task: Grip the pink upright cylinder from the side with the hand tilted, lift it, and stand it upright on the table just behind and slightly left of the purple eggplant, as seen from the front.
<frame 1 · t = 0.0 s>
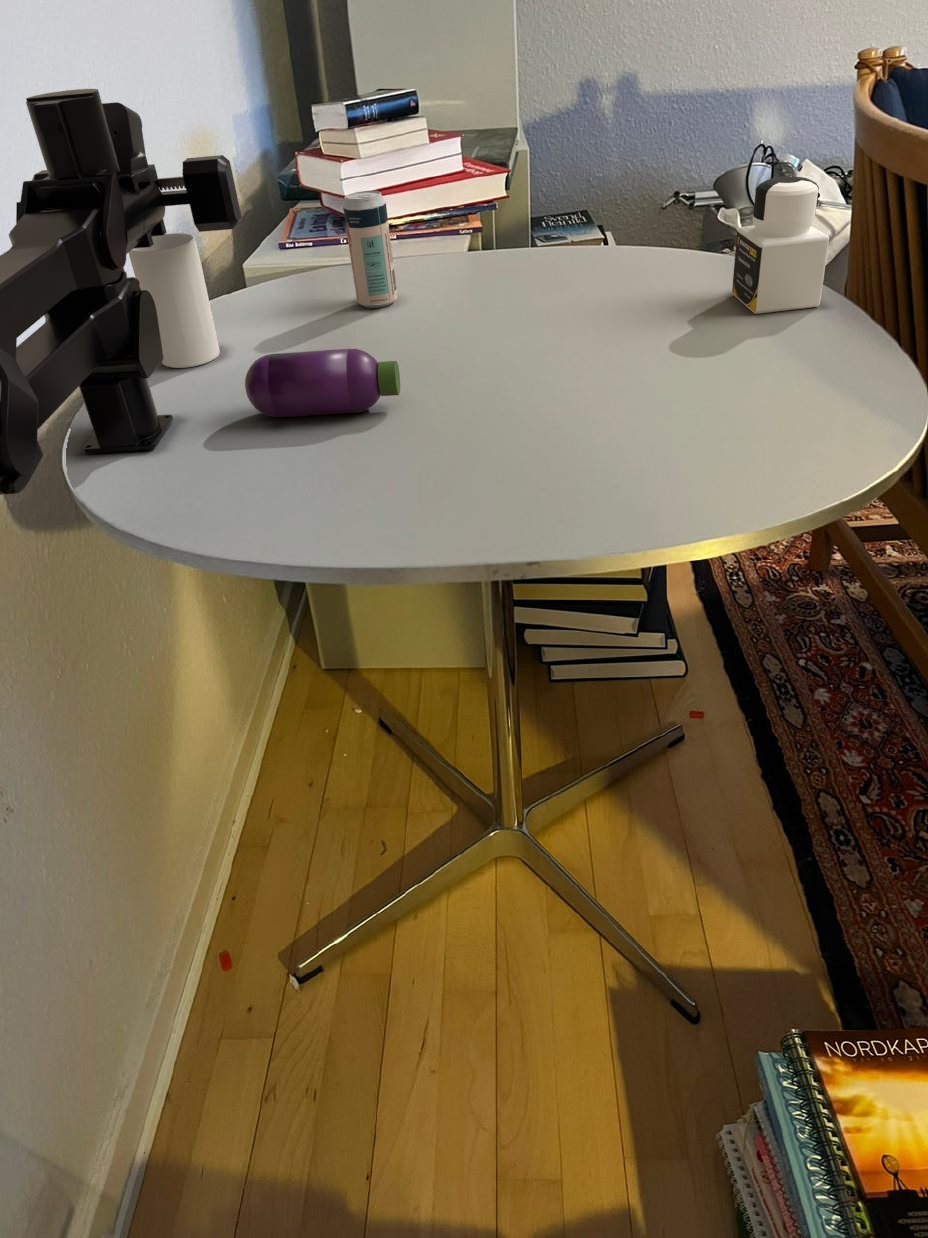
hand: (163, 181, 97), 17 cm above the table, tool horizontal, fingers open, 9 cm apart
medicine bottle: (774, 302, 101), on the table
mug: (193, 354, 103), on the table
eggplant: (319, 412, 87), on the table
pink upright cylinder: (378, 304, 112), on the table
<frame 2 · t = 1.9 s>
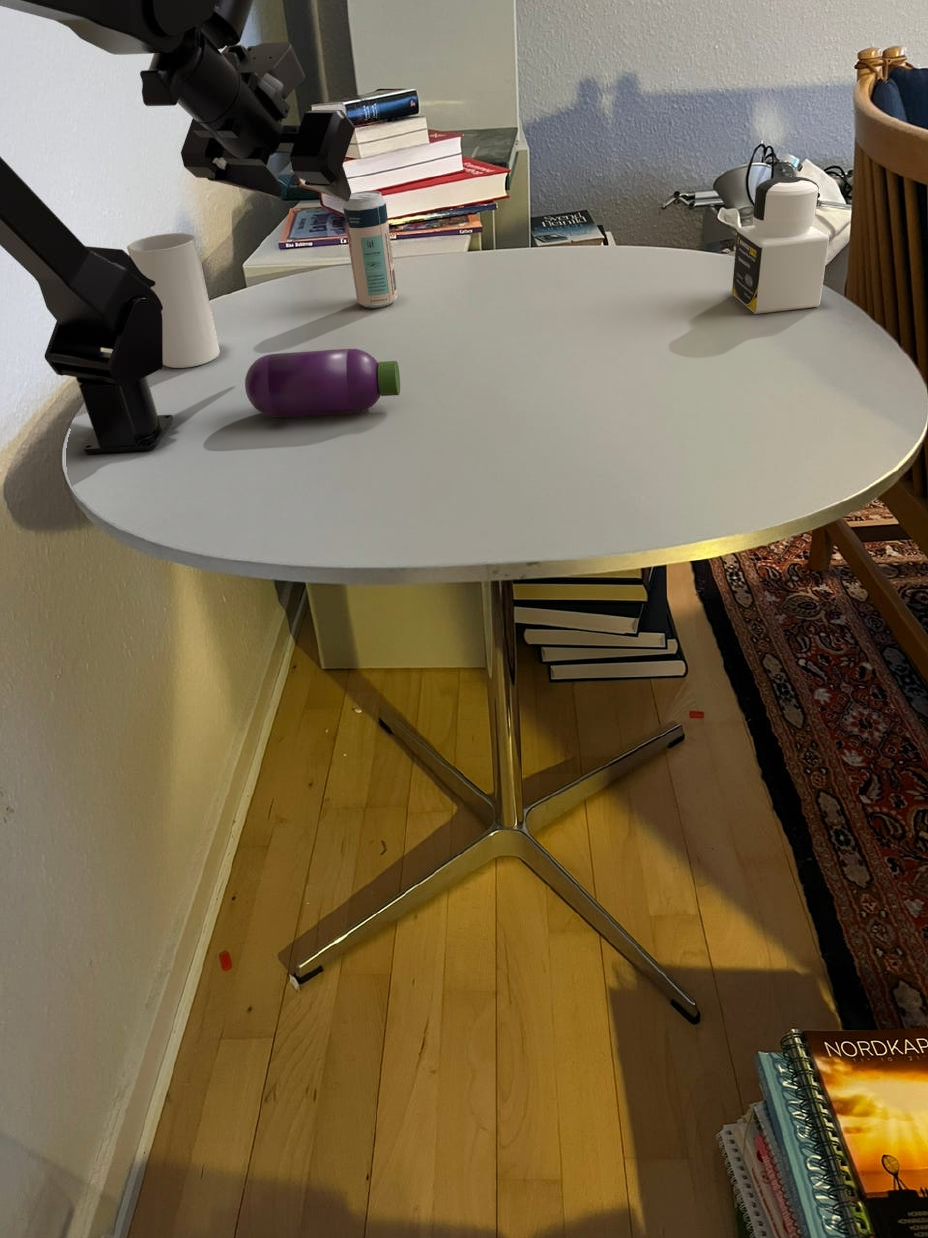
hand: (314, 195, 98), 14 cm above the table, tool tilted 45°, fingers open, 9 cm apart
nothing on the table moved.
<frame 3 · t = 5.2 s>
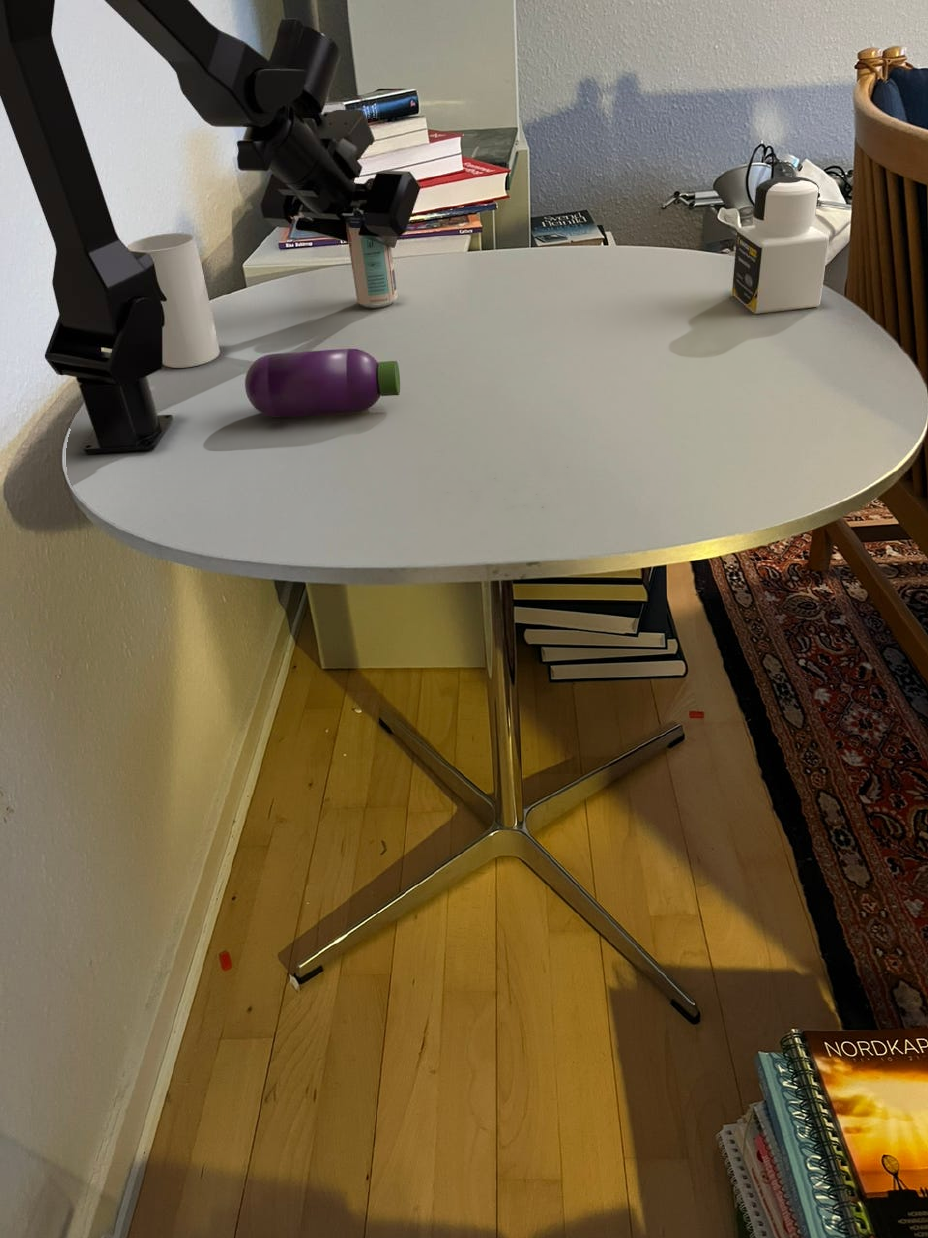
hand: (377, 242, 109), 7 cm above the table, tool tilted 45°, fingers closed on pink upright cylinder, 5 cm apart
pink upright cylinder: (378, 304, 112), on the table, touching gripper
everything else where it was.
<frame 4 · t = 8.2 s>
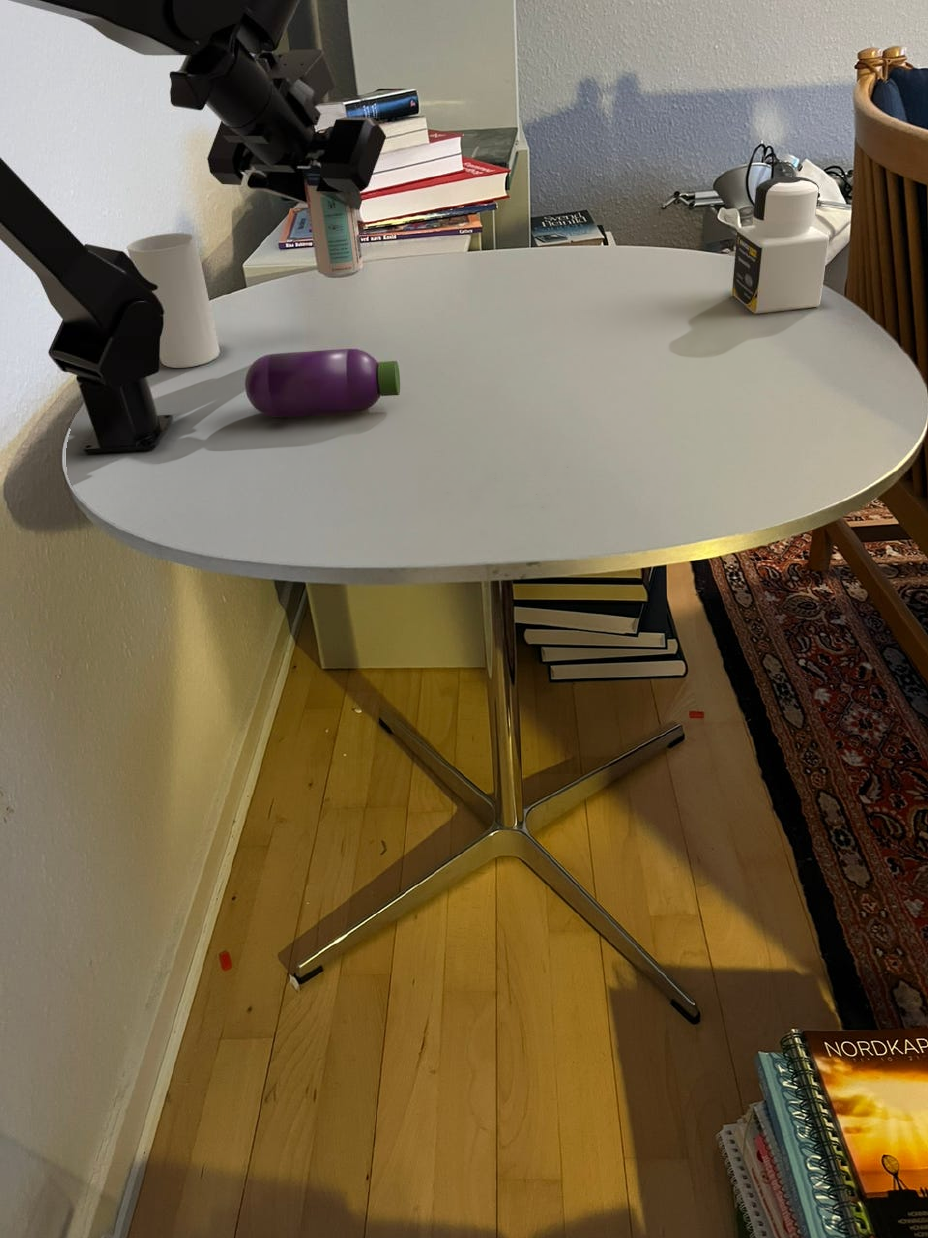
hand: (340, 204, 97), 13 cm above the table, tool tilted 45°, fingers closed on pink upright cylinder, 5 cm apart
pink upright cylinder: (341, 274, 100), point 6 cm above the table, touching gripper
everything else where it was.
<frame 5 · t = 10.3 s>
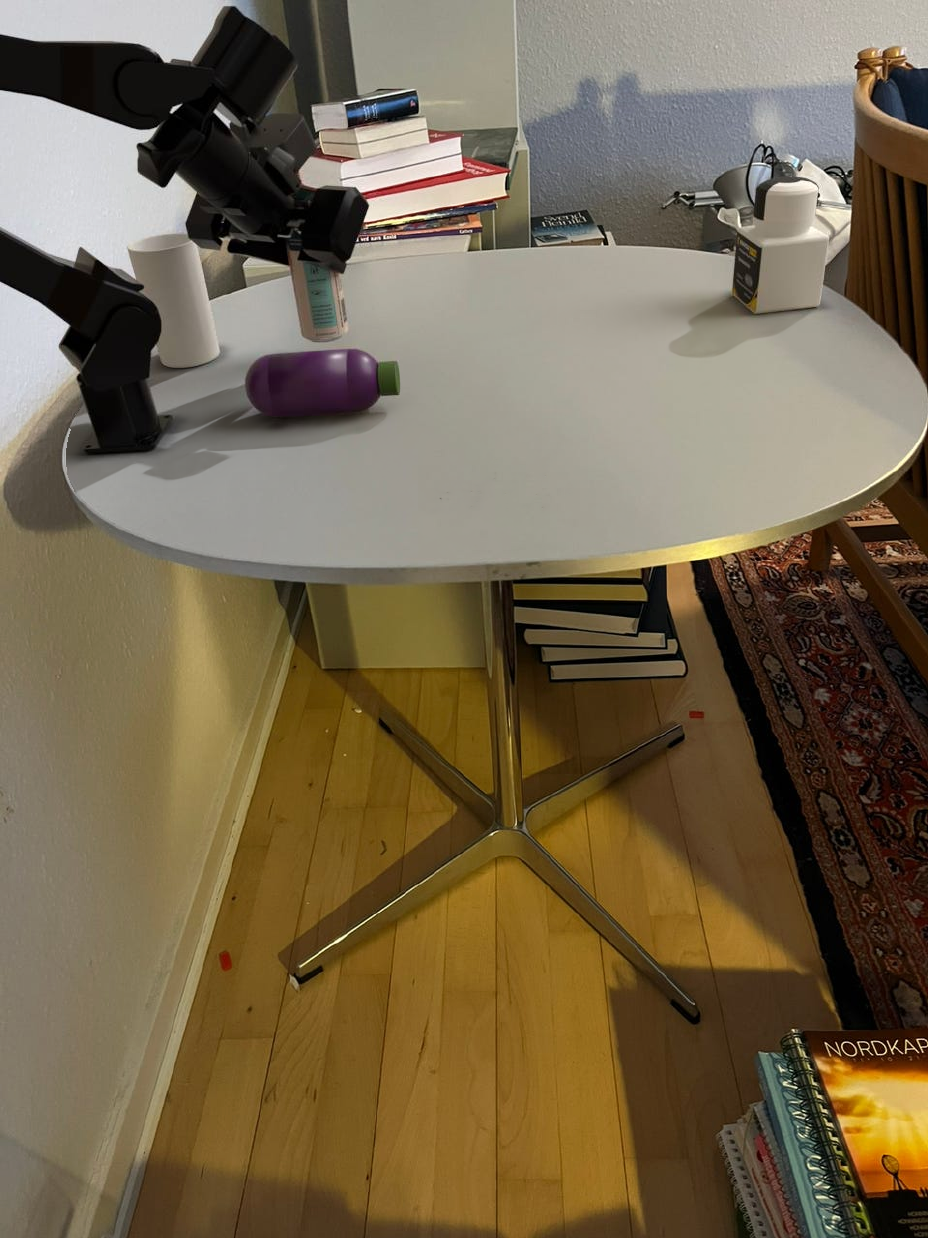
hand: (324, 267, 94), 9 cm above the table, tool tilted 45°, fingers closed on pink upright cylinder, 5 cm apart
pink upright cylinder: (326, 338, 97), point 2 cm above the table, touching gripper
everything else where it was.
when the fingers open (7 cm above the table, at t = 11.4 s): pink upright cylinder stays where it is, on the table.
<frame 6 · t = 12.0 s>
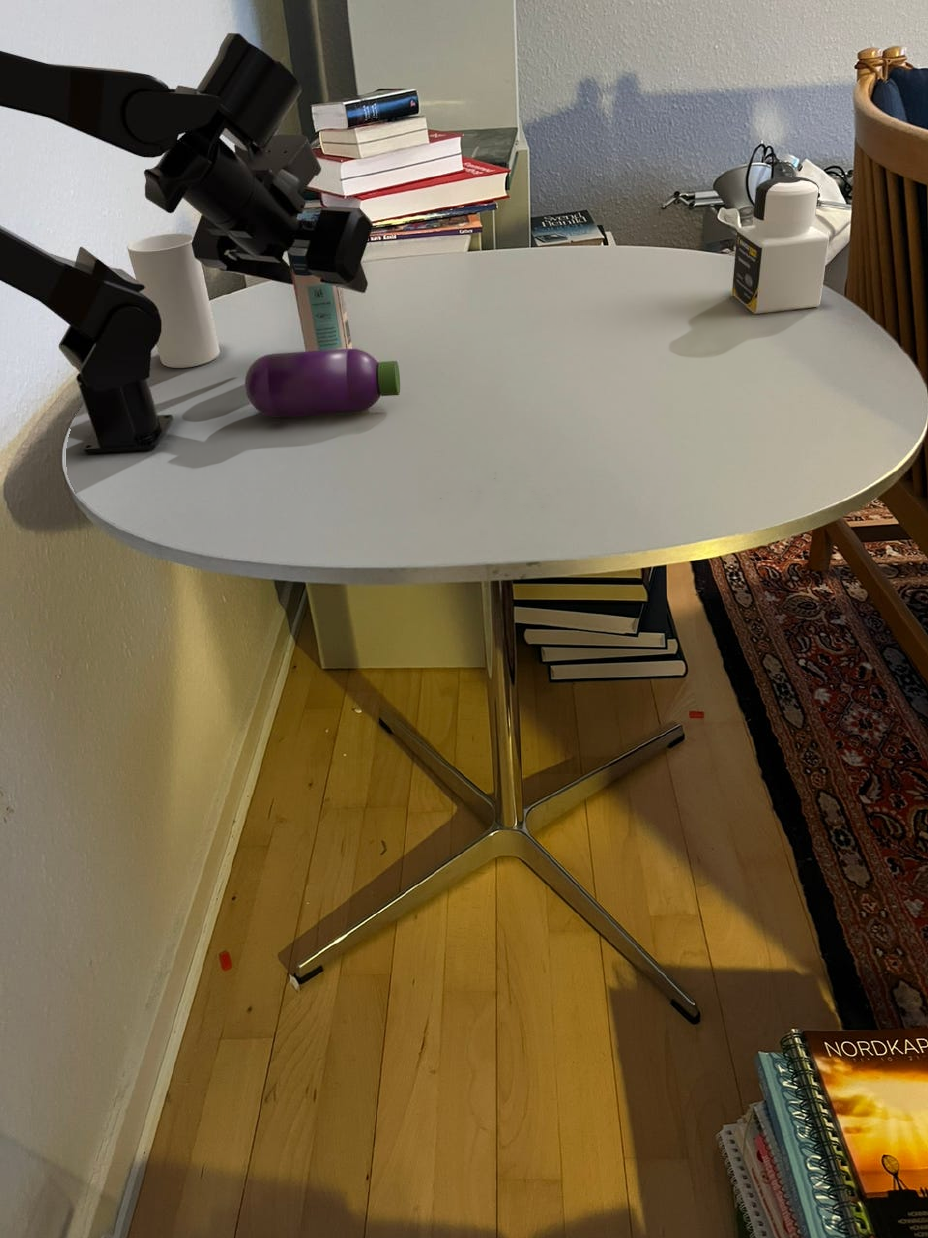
hand: (328, 283, 95), 7 cm above the table, tool tilted 45°, fingers open, 9 cm apart
pink upright cylinder: (330, 359, 98), on the table
everything else where it was.
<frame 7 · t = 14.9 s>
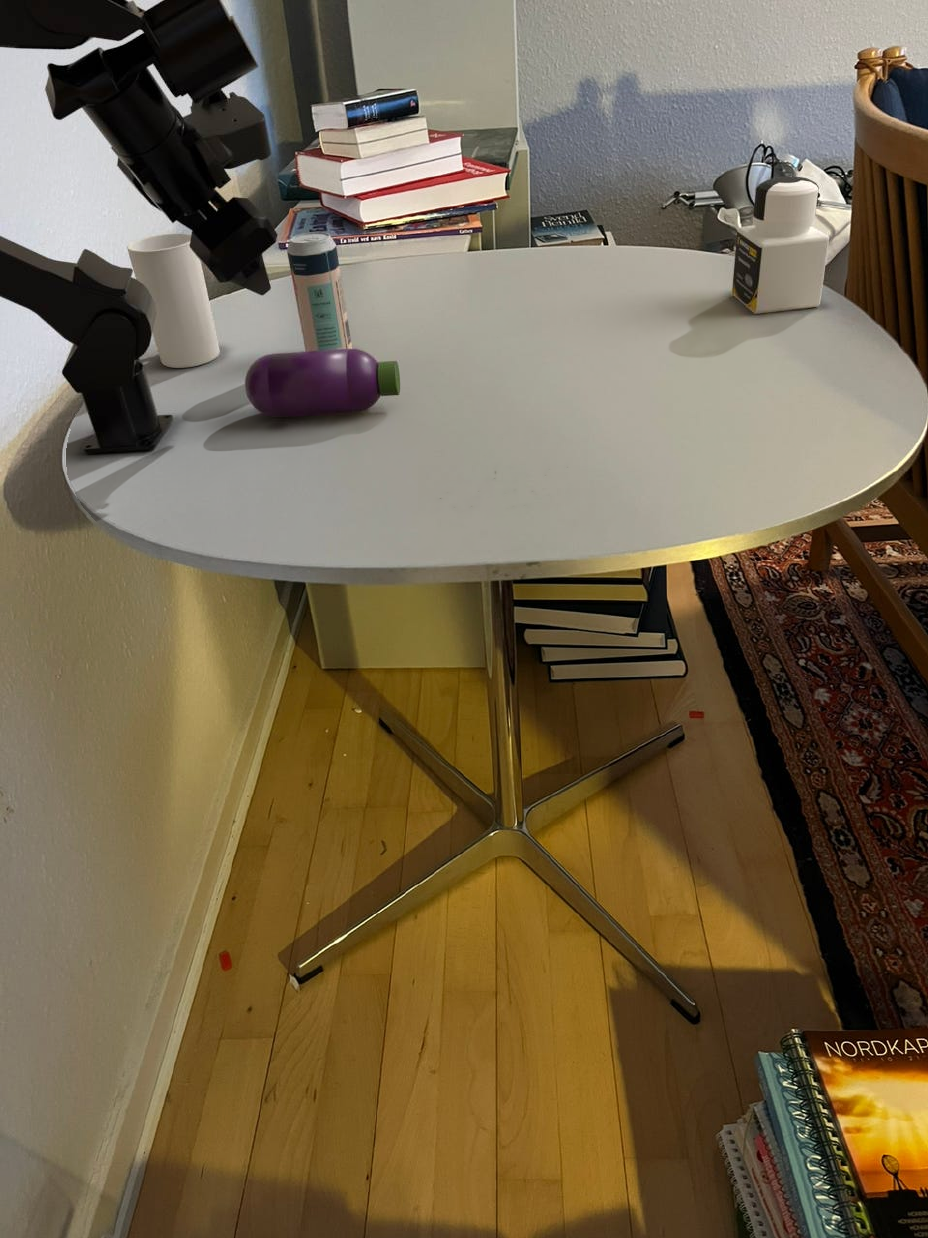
hand: (242, 265, 87), 11 cm above the table, tool tilted 35°, fingers open, 9 cm apart
nothing on the table moved.
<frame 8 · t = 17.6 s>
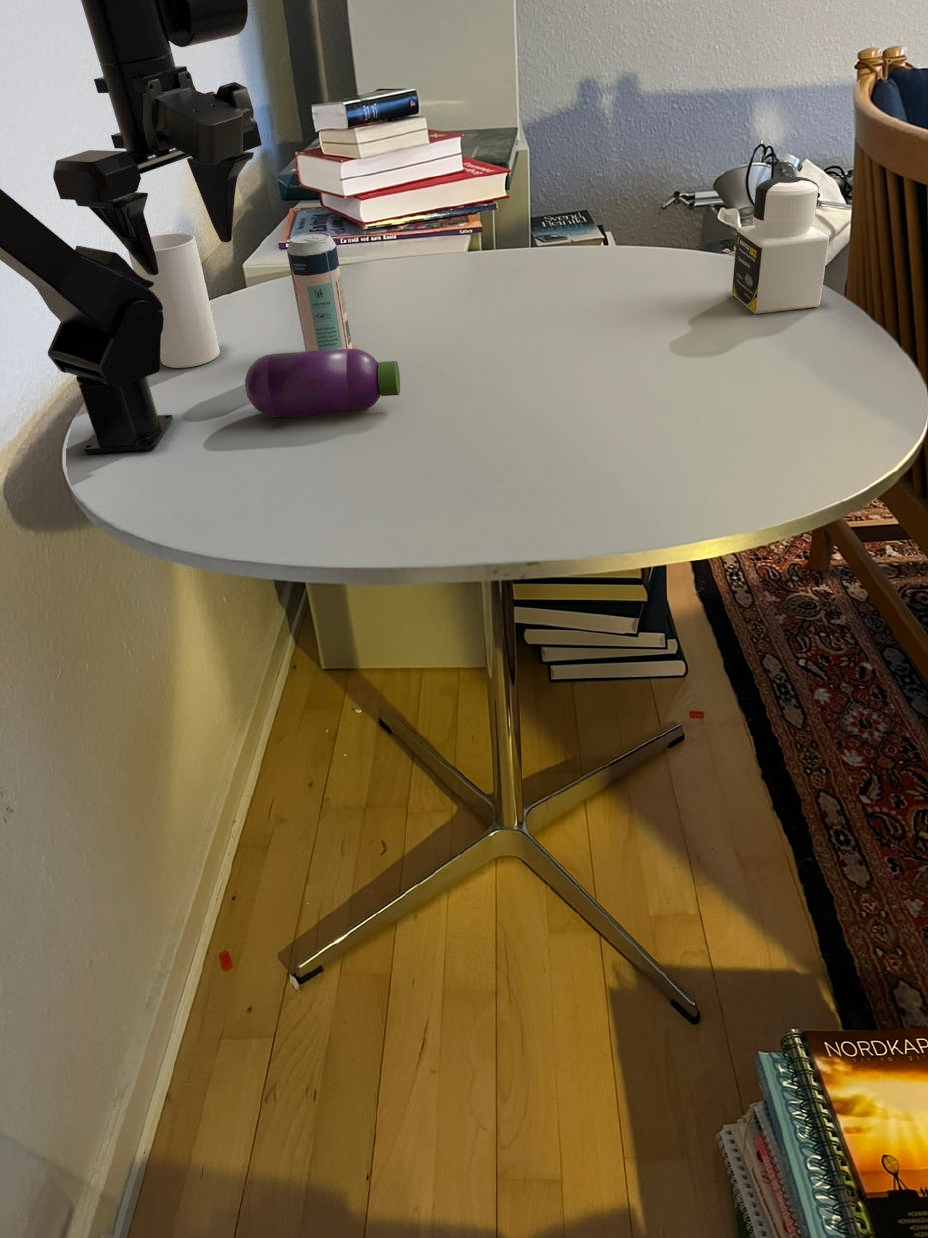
hand: (191, 257, 85), 13 cm above the table, tool pointing down, fingers open, 9 cm apart
nothing on the table moved.
at the end: pink upright cylinder inside the target area on the table beside the eggplant (0.1 cm from its centre), on the table; pink upright cylinder tilted 0°; the gripper is holding nothing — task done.
